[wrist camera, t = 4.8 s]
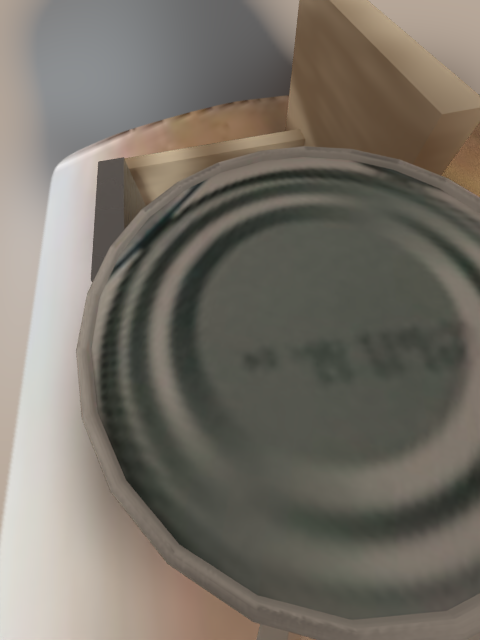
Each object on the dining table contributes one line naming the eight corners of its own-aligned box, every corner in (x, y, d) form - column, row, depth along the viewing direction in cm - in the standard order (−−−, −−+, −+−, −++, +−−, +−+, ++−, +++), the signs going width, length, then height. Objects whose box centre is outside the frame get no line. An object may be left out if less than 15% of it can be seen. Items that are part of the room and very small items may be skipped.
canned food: (366, 397, 15) (693, 286, 4) (276, 513, 13) (438, 1015, 2) (266, 314, 17) (290, 105, 6) (178, 398, 15) (-12, 304, 4)
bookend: (163, 244, 20) (123, 157, 14) (172, 334, 17) (124, 274, 11) (146, 247, 20) (98, 161, 14) (151, 339, 17) (90, 280, 10)
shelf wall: (297, 167, 24) (331, -31, 14) (356, 292, 18) (491, 105, 8) (143, 194, 23) (59, 7, 13) (151, 333, 17) (8, 188, 7)
